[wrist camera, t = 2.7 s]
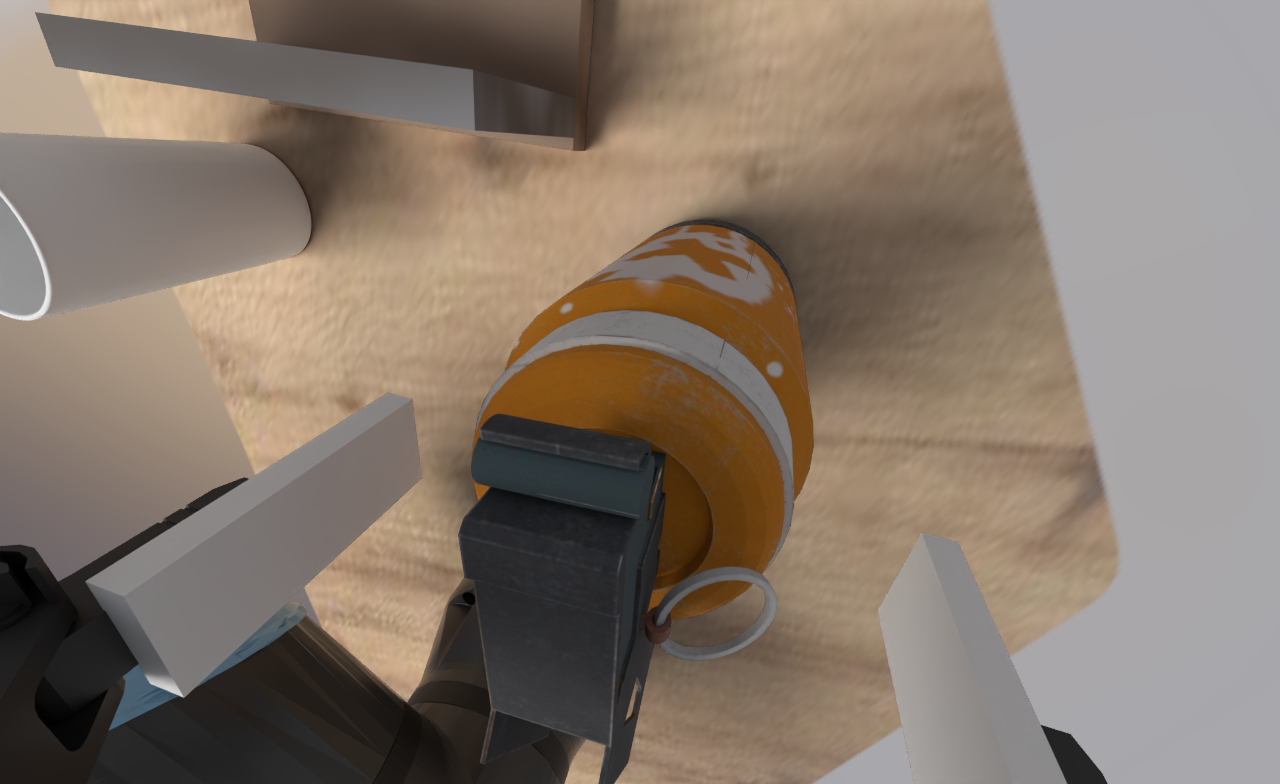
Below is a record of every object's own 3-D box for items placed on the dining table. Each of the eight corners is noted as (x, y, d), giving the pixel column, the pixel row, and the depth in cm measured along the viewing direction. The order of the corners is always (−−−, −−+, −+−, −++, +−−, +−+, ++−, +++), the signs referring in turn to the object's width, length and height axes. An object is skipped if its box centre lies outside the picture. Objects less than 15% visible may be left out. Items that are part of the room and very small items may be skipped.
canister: (813, 227, 22) (978, 535, 4) (768, 434, 27) (758, 957, 9) (622, 209, 23) (181, 375, 6) (614, 407, 28) (364, 807, 11)
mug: (298, 140, 26) (-23, 132, 15) (330, 266, 29) (81, 329, 18) (155, 135, 28) (-212, 125, 17) (200, 253, 31) (-90, 303, 21)
